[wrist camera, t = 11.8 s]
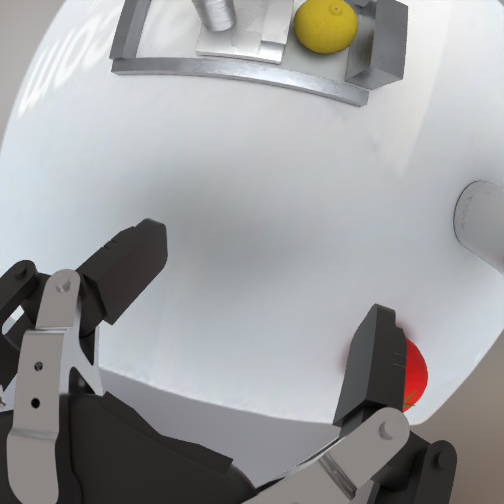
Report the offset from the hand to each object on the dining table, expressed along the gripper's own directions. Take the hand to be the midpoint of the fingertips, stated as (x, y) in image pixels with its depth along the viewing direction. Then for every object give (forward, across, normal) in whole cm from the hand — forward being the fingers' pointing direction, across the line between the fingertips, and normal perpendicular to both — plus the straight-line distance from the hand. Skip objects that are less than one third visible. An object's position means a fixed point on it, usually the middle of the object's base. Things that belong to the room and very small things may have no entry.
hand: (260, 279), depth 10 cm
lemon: (+24, +4, -10) cm, 26 cm away
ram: (+21, +11, -10) cm, 26 cm away
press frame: (+21, +10, -10) cm, 26 cm away
